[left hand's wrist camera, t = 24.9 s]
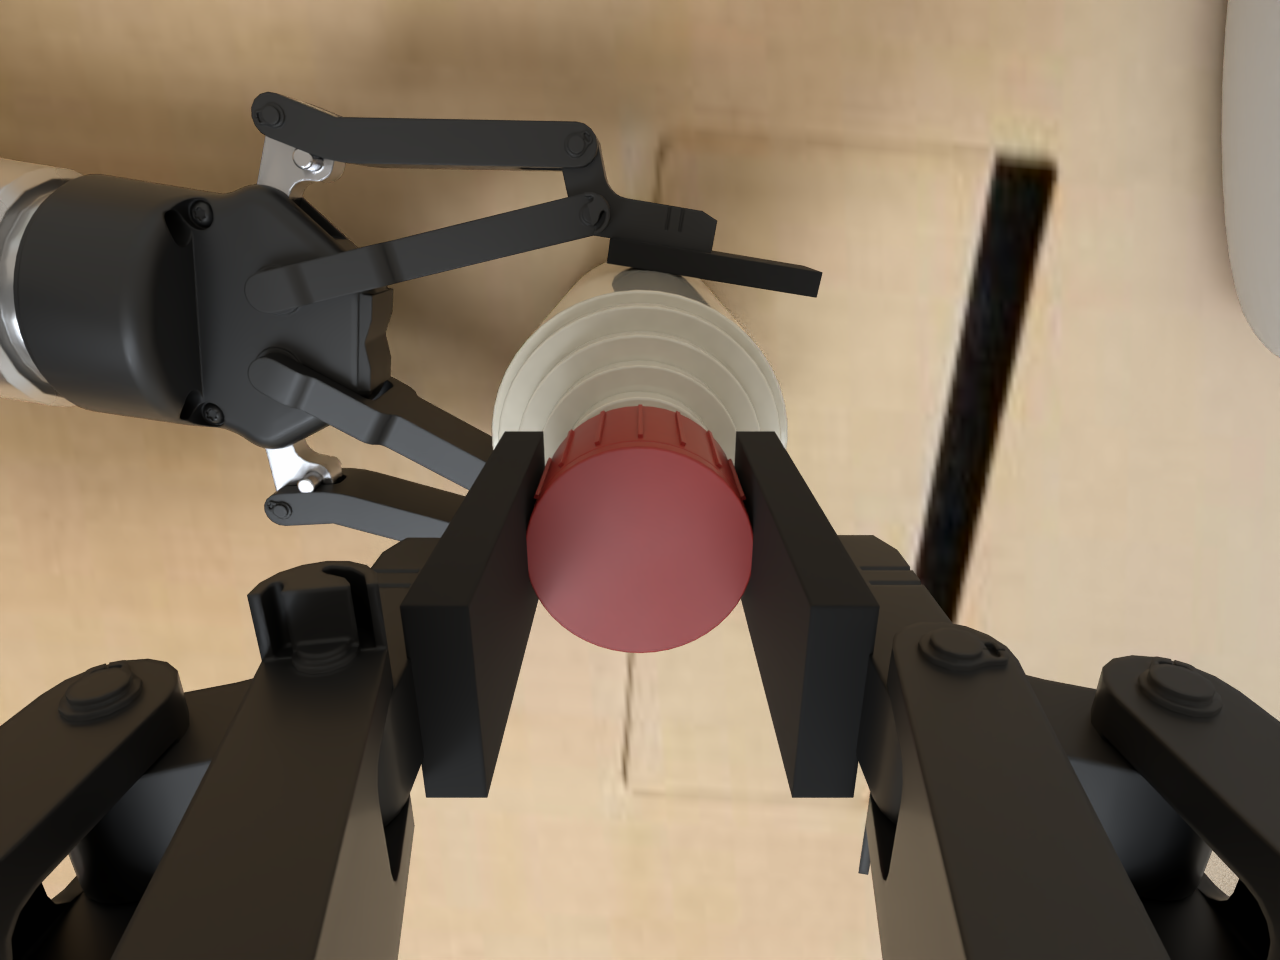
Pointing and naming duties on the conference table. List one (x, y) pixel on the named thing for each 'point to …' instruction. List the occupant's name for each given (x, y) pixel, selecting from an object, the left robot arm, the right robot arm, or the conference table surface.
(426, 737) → the left robot arm
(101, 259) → the right robot arm
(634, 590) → the cap
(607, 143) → the conference table surface
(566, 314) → the bottle
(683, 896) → the conference table surface
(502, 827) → the conference table surface
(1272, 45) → the projector
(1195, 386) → the conference table surface
